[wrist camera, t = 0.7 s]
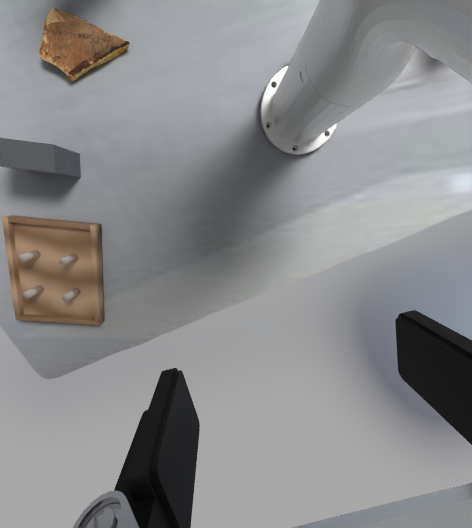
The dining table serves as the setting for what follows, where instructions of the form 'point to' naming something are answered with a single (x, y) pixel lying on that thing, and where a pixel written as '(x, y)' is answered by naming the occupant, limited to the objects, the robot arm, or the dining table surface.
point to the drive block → (39, 158)
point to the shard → (77, 44)
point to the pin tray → (55, 270)
